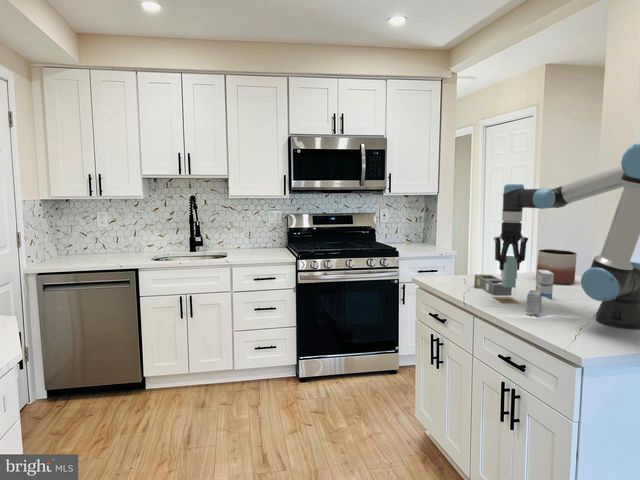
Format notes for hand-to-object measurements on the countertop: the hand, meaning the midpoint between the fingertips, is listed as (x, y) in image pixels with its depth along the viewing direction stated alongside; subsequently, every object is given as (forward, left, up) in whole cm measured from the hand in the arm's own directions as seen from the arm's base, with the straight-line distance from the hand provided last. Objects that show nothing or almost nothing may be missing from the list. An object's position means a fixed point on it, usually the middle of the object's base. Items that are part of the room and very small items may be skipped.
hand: (508, 277), depth 184 cm
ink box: (+12, -22, -11) cm, 27 cm away
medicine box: (-14, -4, -11) cm, 19 cm away
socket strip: (+20, -2, -11) cm, 22 cm away
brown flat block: (+1, 0, -11) cm, 11 cm away
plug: (0, 0, -4) cm, 4 cm away
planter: (+45, -46, -11) cm, 65 cm away
